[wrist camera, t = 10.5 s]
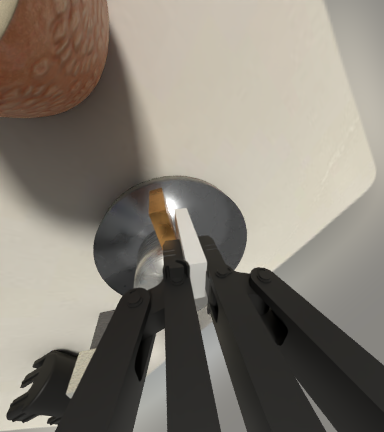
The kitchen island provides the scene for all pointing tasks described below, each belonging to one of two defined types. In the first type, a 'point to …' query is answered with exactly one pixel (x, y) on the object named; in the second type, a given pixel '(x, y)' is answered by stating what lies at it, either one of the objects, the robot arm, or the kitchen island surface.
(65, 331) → the kitchen island surface
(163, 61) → the kitchen island surface
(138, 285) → the cover
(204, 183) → the turntable
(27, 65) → the planter
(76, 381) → the gray post with pin
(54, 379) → the end cap
